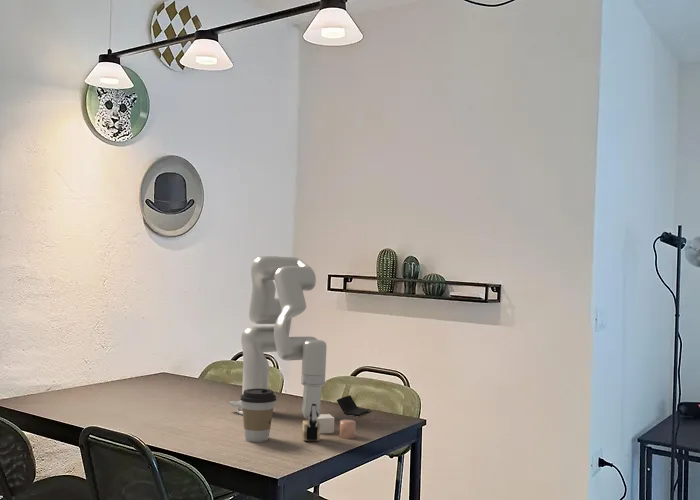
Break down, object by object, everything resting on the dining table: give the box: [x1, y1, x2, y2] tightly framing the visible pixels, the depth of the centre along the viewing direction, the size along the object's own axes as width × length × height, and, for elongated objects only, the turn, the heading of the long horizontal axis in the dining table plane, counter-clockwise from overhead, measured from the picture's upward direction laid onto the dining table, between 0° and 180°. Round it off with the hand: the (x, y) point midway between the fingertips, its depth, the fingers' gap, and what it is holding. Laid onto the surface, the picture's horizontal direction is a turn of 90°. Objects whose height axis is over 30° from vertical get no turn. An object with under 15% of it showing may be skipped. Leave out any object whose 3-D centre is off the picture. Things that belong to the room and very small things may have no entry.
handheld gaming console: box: [336, 394, 370, 417], centre depth 258 cm, size 12×7×10 cm
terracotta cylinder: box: [339, 419, 356, 440], centre depth 221 cm, size 5×5×5 cm
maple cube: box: [301, 420, 321, 442], centre depth 215 cm, size 5×5×5 cm
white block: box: [317, 413, 335, 434], centre depth 227 cm, size 6×6×5 cm
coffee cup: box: [239, 388, 277, 443], centre depth 214 cm, size 11×11×15 cm
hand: (310, 436), depth 215 cm, fingers closed on maple cube, 5 cm apart
